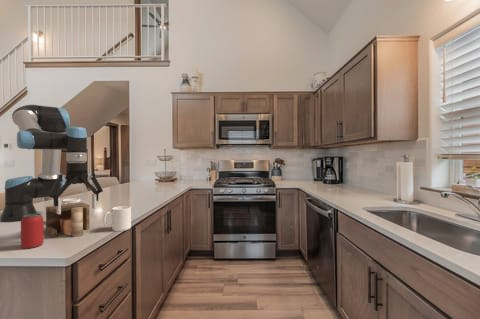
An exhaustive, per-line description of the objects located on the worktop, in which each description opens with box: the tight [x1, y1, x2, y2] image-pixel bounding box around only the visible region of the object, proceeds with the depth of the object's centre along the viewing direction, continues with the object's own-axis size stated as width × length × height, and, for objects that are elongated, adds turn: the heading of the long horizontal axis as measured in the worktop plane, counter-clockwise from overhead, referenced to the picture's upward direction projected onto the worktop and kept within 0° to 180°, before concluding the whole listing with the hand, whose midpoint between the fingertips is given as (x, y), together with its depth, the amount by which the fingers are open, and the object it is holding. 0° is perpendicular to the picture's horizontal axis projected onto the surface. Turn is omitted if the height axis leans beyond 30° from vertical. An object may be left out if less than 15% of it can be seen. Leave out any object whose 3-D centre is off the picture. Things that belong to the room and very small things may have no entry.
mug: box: [61, 197, 81, 205], centre depth 127 cm, size 12×8×12 cm
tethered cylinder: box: [59, 207, 84, 238], centre depth 110 cm, size 14×6×12 cm, turn 52°
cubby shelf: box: [45, 201, 90, 238], centre depth 114 cm, size 11×14×12 cm
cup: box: [102, 205, 132, 232], centre depth 115 cm, size 8×12×10 cm
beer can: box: [20, 213, 44, 249], centre depth 94 cm, size 7×7×12 cm
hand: (77, 211), depth 106 cm, fingers open, 13 cm apart
